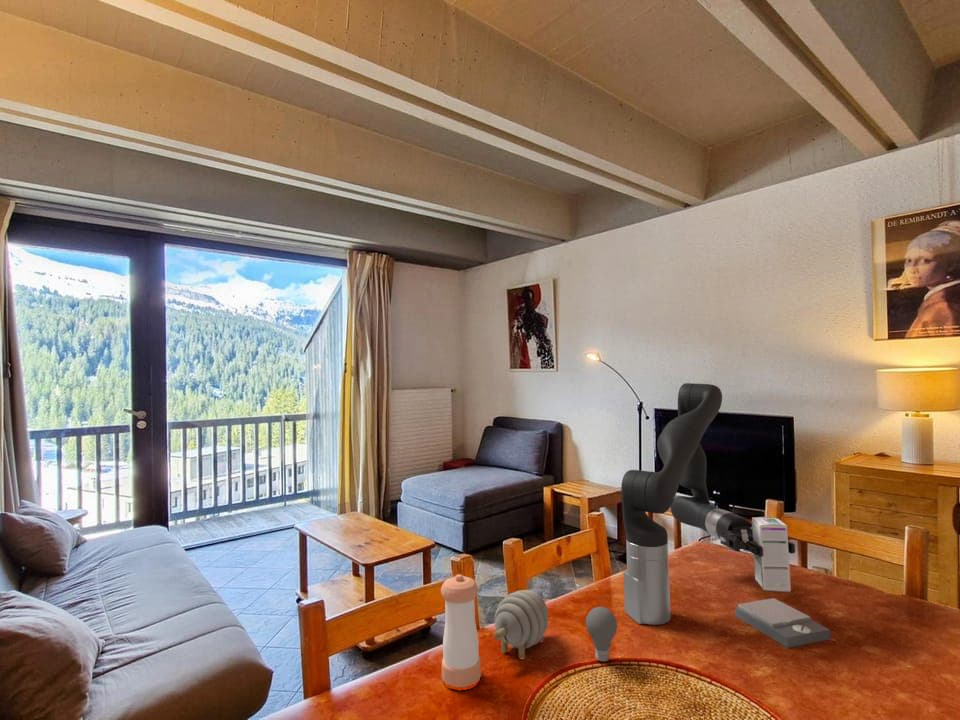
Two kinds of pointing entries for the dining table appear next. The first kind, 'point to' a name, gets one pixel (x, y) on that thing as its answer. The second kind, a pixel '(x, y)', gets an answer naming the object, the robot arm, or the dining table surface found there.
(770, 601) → the scale pan
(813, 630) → the scale base
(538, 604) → the toy sheep
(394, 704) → the dining table surface
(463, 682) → the salt shaker
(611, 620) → the light bulb
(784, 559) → the syrup box
